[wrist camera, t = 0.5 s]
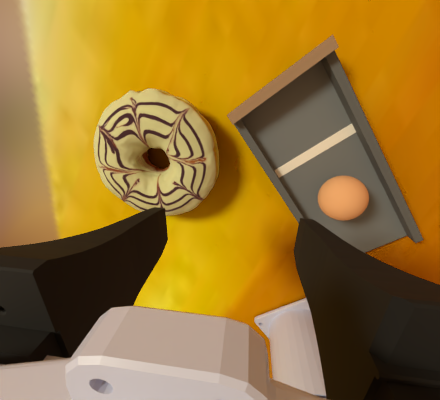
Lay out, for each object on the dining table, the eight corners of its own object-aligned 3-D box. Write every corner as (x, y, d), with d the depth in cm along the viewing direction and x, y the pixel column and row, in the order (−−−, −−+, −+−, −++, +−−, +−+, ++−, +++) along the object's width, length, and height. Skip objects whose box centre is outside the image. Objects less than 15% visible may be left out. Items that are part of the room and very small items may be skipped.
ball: (363, 195, 19) (386, 214, 16) (324, 215, 21) (338, 236, 17) (345, 162, 18) (366, 174, 15) (305, 184, 20) (316, 200, 16)
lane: (409, 229, 21) (430, 245, 18) (327, 263, 23) (335, 281, 21) (320, 44, 16) (332, 34, 14) (229, 113, 19) (226, 115, 16)
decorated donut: (95, 100, 20) (62, 99, 16) (213, 83, 18) (204, 78, 15) (127, 206, 24) (106, 223, 20) (226, 200, 22) (222, 218, 19)
